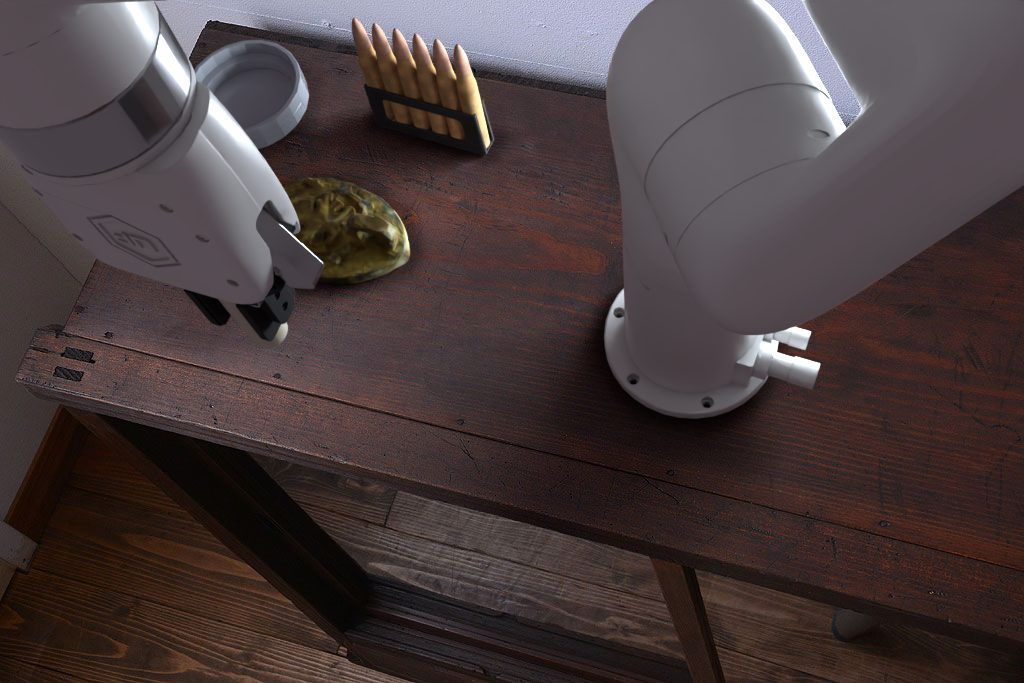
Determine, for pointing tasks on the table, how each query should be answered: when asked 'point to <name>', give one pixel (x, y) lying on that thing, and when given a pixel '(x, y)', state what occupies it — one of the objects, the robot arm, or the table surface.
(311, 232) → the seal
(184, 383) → the table surface
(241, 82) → the dish
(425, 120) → the ammunition clip
